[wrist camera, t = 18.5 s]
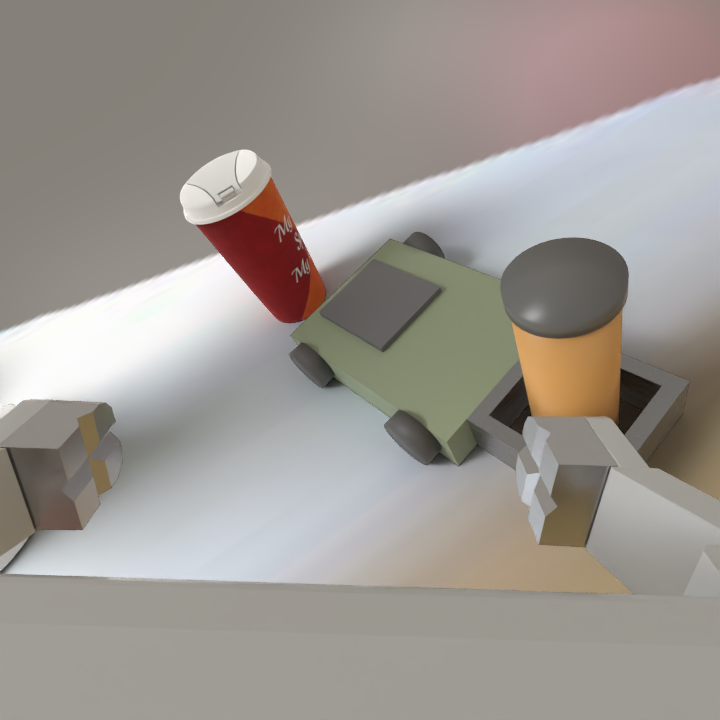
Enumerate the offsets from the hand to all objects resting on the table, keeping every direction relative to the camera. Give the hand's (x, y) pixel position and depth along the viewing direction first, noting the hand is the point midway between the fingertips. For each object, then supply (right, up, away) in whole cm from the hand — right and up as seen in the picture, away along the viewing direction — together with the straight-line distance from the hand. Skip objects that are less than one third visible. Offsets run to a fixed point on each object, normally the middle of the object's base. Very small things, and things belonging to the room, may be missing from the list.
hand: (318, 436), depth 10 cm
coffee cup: (-5, +7, +42) cm, 43 cm away
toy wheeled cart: (+6, +2, +32) cm, 33 cm away
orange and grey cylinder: (+15, -3, +23) cm, 28 cm away
